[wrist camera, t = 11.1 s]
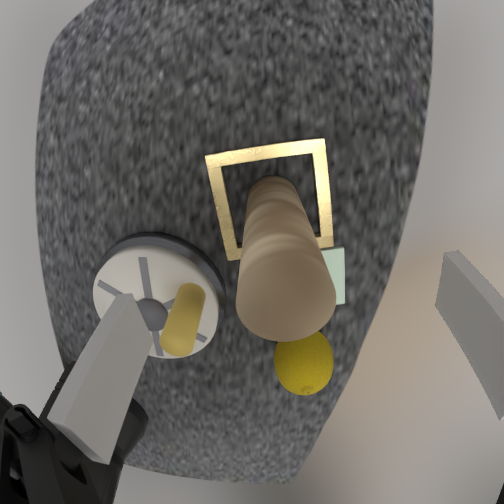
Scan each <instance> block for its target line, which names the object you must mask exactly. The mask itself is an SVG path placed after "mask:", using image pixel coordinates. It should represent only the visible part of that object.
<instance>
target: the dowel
mask: <svg viewBox="0 0 504 504" xmlns="http://www.w3.org/2000/svg"><path fill="white" fill-rule="evenodd" d="M335 306H336V290H335V287H334V284H333V281H332V279H331V276H330V273H329V271H328V268H327V265H326V263H325V260H324V258H323V255H322V252H321V250H320V247H319V245H318V242H317V240H316V237H315V235H314V232H313V230H312V227H311V225H310V222H309V220H308V217H307V215H306V213H305V210H304V208H303V205H302V203H301V201H300V198H299V196H298V194H297V191H296V189H295V187H294V186H293V184H292V183H291V182H290V181H289V180H287V179H286V178H283V177H281V176H276V175H270V176H265V177H262V178H261V179H259V180H257V181H256V182H255V183H254V184H253V185H252V187H251V189H250V191H249V194H248V201H247V209H246V218H245V226H244V235H243V243H242V251H241V260H240V269H239V277H238V286H237V295H236V310H237V313H238V316H239V318H240V320H241V322H242V323H243V324H244V326H245V327H246V328H247V329H248V330H250V331H251V332H252V333H254V334H255V335H257V336H259V337H261V338H264V339H267V340H271V341H278V342H288V341H295V340H300V339H303V338H306V337H308V336H310V335H312V334H314V333H316V332H317V331H318V330H320V329H321V328H322V327H323V326H324V325H325V324H326V323H327V322H328V321H329V319H330V318H331V316H332V314H333V312H334V309H335Z"/></svg>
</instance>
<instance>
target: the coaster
mask: <svg viewBox="0 0 504 504" xmlns="http://www.w3.org/2000/svg"><path fill="white" fill-rule="evenodd" d="M320 250H321V252H322V255H323V258H324V260H325V263H326V265H327V268H328V271H329V273H330V276H331V279H332V281H333V284H334V287H335V290H336V305H337V304H344V303H345V265H344V247H343V246H338V247H331V248H324V249H320Z"/></svg>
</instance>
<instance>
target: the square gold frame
mask: <svg viewBox="0 0 504 504" xmlns="http://www.w3.org/2000/svg"><path fill="white" fill-rule="evenodd" d="M307 153H311V154H312V163H313V171H314V180H315V189H316V199H317V209H318V220H319V232H320V233H317V234H314V235H315V237H316V240H317V242H318V245H319V247H320V248H325V247H332V246H334V245H333V228H332V213H331V200H330V189H329V178H328V168H327V158H326V149H325V141H324V138H322V137H321V138H312V139H303V140H294V141H287V142H279V143H272V144H265V145H258V146H252V147H246V148H240V149H234V150H228V151H223V152H217V153H212V154H207V155H206V156H205V159H206V164H207V169H208V174H209V178H210V183H211V188H212V192H213V197H214V201H215V206H216V210H217V215H218V219H219V224H220V228H221V233H222V237H223V242H224V246H225V250H226V255H227V259H228V261H230V260H238V259H241V251H242V244H238V243H237V238H236V233H235V228H234V223H233V218H232V214H231V209H230V204H229V199H228V194H227V189H226V184H225V179H224V174H223V169H222V166H225V165H231V164H237V163H243V162H249V161H256V160H262V159H269V158H276V157H283V156H291V155H299V154H307Z"/></svg>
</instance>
